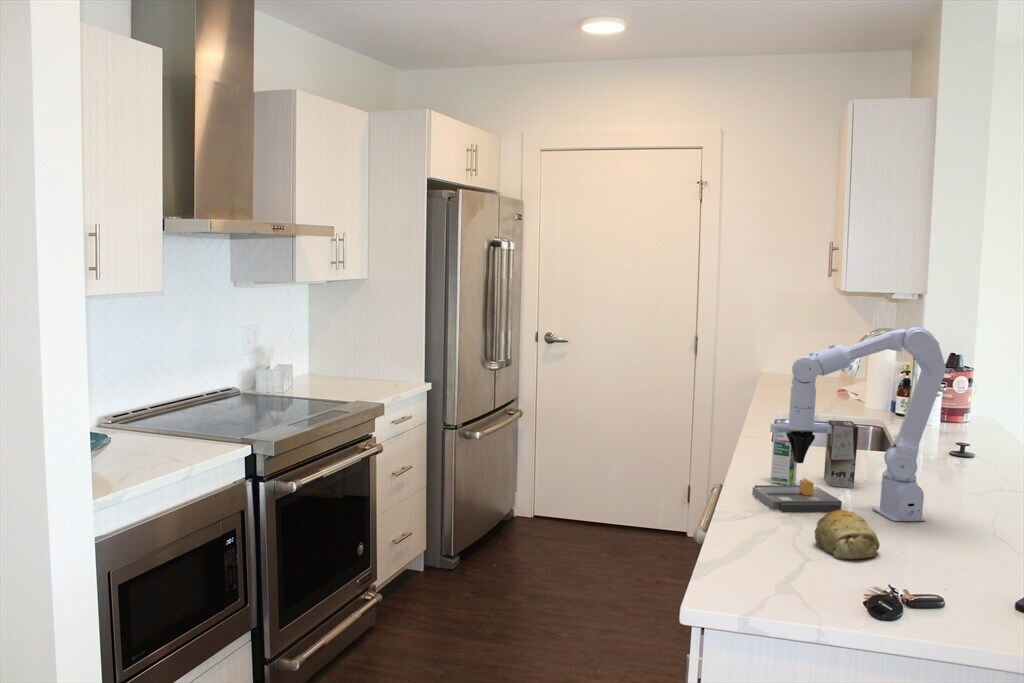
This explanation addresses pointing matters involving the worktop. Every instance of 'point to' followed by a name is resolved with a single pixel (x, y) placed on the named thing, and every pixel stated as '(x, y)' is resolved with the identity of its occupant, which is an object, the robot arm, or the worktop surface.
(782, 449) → the syrup box
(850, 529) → the pastry
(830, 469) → the coffee box
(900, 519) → the robot arm
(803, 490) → the knob
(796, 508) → the dark grey flat bars
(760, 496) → the panel
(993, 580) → the worktop surface
